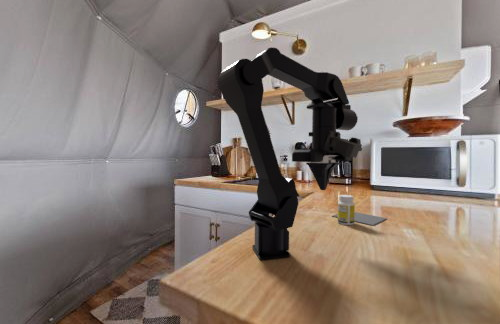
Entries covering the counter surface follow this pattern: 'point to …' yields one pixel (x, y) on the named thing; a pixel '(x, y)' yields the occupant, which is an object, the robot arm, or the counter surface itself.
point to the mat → (366, 219)
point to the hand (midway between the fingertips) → (323, 189)
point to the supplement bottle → (346, 210)
